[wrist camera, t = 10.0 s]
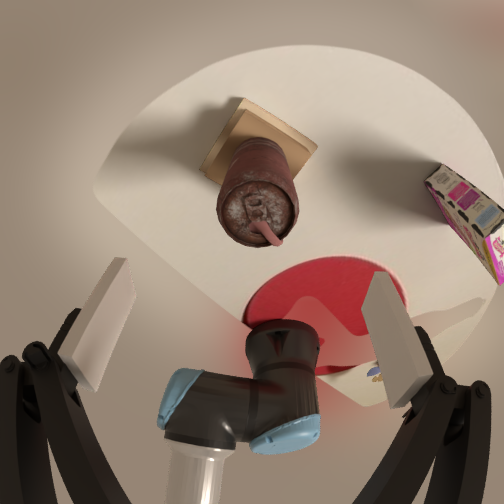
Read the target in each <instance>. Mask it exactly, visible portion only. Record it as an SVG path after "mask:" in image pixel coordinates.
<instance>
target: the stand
mask: <svg viewBox="0 0 504 504" xmlns="http://www.w3.org/2000/svg"><path fill="white" fill-rule="evenodd" d="M255 137H263V138H268V139H270V140H272V141H274V142H276V143H277V144H278V145H279V146H280V147H281V148H282V150H283V152H284V154H285V156H286V159H287V163H288V166H289V169H290V173H291V176H292V179H294V178H295V176H296V175H297V174H298V172H299V171H300V170H301V168H302V167H303V166H304V165H305V163H306V162H307V161H308V159H309V158H310V157H311V155H312V154H313V153H314V151H315V150H316V149H317V147H318V146H317V145H316V144H315V143H314V142H313V141H311V140H310V139H308V138H307V137H305V136H304V135H303V134H301V133H300V132H298V131H297V130H295V129H294V128H292V127H291V126H289V125H288V124H286V123H285V122H283V121H282V120H280V119H279V118H277V117H275V116H274V115H272V114H271V113H269V112H267V111H266V110H264V109H263V108H261V107H259V106H258V105H256V104H254V103H253V102H251V101H249V100H248V99H246V98H244V99H243V100H242V102H241V103H240V105H239V106H238V108H237V110H236V111H235V113H234V114H233V116H232V117H231V119H230V120H229V122H228V123H227V125H226V127H225V128H224V130H223V131H222V133H221V134H220V136H219V138H218V139H217V141H216V143H215V144H214V146H213V147H212V149H211V151H210V152H209V154H208V156H207V157H206V159H205V161H204V162H203V164H202V166H201V168H200V169H199V170H201V171H202V172H204V173H206V174H205V176H206V177H208V178H209V179H211V180H213V181H215V182H216V183H218V184H220V185H222V184H223V181H224V178H225V176H226V173H227V170H228V167H229V165H230V162H231V159H232V156H233V154H234V152H235V150H236V148H237V147H238V146H239V145H240V144H241V143H242V142H244V141H246V140H248V139H250V138H255Z"/></svg>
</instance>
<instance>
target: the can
mask: <svg viewBox="0 0 504 504" xmlns="http://www.w3.org/2000/svg"><path fill="white" fill-rule="evenodd" d="M216 211H217V215H218V219H219V222H220V224H221V225H222V227H223V228H224V230H225V231H226V233H227V235H229V236H230V237H231V238H232V239H233V240H235V241H236V242H238V243H240V244H242V245H245V246H249V247H255V248H260V247H268V246H271V245H273V246H280V245H281V244H282V243H283V239H284V238H285V237H286V236H287V235H288V234H289V232H290V231H291V230H292V228H293V227H294V225H295V224H296V222H297V218H298V214H299V202H298V197H297V193H296V190H295V186H294V183H293V179H292V176H291V173H290V169H289V166H288V163H287V159H286V156H285V154H284V152H283V150H282V148H281V147H280V146H279V145H278V144H277V143H276V142H274V141H272V140H270V139H268V138H263V137H255V138H250V139H248V140H246V141H244V142H242V143H241V144H240V145H239V146H238V147H237V148H236V150H235V152H234V154H233V156H232V159H231V162H230V165H229V167H228V170H227V173H226V176H225V178H224V181H223V184H222V187H221V190H220V193H219V195H218V199H217V207H216Z"/></svg>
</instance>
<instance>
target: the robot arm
mask: <svg viewBox="0 0 504 504" xmlns="http://www.w3.org/2000/svg"><path fill="white" fill-rule="evenodd" d="M136 298H137V295H136V292H135V288H134V284H133V281H132V277H131V273H130V269H129V265H128V260H127V258H118V257H115V258H114V259H113V261H112V262H111V264H110V265H109V267H108V268H107V270H106V271H105V273H104V274H103V276H102V277H101V279H100V280H99V282H98V284H97V285H96V287H95V289H94V290H93V292H92V293H91V295H90V296H89V298H88V300H87V301H86V303H85V305H84V306H83V308H82V309H79V308H75V309H74V310H73V311H72V312H71V313H70V314H69V315H68V316H67V318H66V319H65V321H64V324H63V325H62V326H61V328H60V330H59V332H58V333H57V335H56V337H55V338H54V340H53V342H52V344H51V346H50V348H49V349H47V348H46V346H45V345H44V344H43V343H42V342H39V341H36V342H32V343H30V344H29V345H27V346H26V348H25V349H24V351H23V353H22V358H23V360H24V361H25V362H20V361H19V359H18V358H17V357H16V356H14V355H9V356H7V357H5V358H4V359H3V360H2V361H1V363H0V504H58V503H57V498H56V494H55V489H54V484H53V479H52V473H51V466H50V460H49V452H48V444H47V443H48V442H49V445H50V448H51V450H52V453H53V456H54V459H55V462H56V464H57V467H58V469H59V472H60V474H61V477H62V479H63V482H64V484H65V486H66V488H67V491H68V493H69V495H70V497H71V499H72V501H73V503H74V504H131V502H130V501H129V499H128V497H127V496H126V494H125V492H124V491H123V489H122V487H121V486H120V484H119V482H118V480H117V478H116V477H115V475H114V473H113V471H112V469H111V467H110V465H109V464H108V462H107V460H106V458H105V456H104V454H103V452H102V450H101V447H100V445H99V443H98V441H97V439H96V436H95V434H94V432H93V429H92V427H91V425H90V423H89V420H88V417H87V415H86V413H85V410H84V407H83V405H82V402H81V399H80V396H79V393H78V391H77V389H76V386H77V383H79V384H80V385H81V387H82V388H83V389H85V390H89V391H92V392H97V390H98V387H99V384H100V382H101V379H102V376H103V374H104V371H105V369H106V366H107V364H108V361H109V359H110V356H111V354H112V352H113V349H114V347H115V344H116V342H117V339H118V337H119V335H120V333H121V330H122V328H123V326H124V324H125V321H126V319H127V317H128V315H129V312H130V310H131V308H132V306H133V304H134V302H135V300H136ZM361 310H362V313H363V316H364V319H365V322H366V325H367V328H368V331H369V334H370V338H371V341H372V344H373V347H374V351H375V354H376V357H377V361H378V364H379V368H380V371H381V375H382V378H383V382H384V386H385V390H386V393H387V397H388V401H389V405H390V409H394V408H400V407H404V406H405V405H406V404H407V403H408V402H409V401H411V404H412V407H411V408H410V409H409V410H408V411H407V412H406V413H405V414H404V415H403V416H402V417H403V418H404V417H405V416H406V418H405V420H404V421H403V423H402V425H401V427H400V429H399V431H398V433H397V435H396V437H395V439H394V440H393V442H392V444H391V446H390V448H389V449H388V451H387V453H386V454H385V456H384V457H383V459H382V461H381V462H380V464H379V466H378V467H377V469H376V470H375V472H374V473H373V475H372V477H371V478H370V479H369V481H368V482H367V484H366V485H365V487H364V488H363V489H362V491H361V492H360V494H359V495H358V496H357V498H356V499H355V500H354V502H353V503H352V504H411V503H412V502H413V500H414V498H415V496H416V495H417V493H418V491H419V489H420V487H421V485H422V483H423V482H424V480H425V477H426V476H427V474H428V471H429V469H430V467H431V465H432V463H433V461H434V458H435V456H436V458H435V462H434V467H433V471H432V476H431V480H430V483H429V487H428V491H427V494H426V498H425V501H424V504H481V503H482V498H483V493H484V488H485V482H486V476H487V469H488V460H489V451H490V437H491V392H490V388H489V386H488V385H487V384H486V383H485V382H483V381H479V380H478V381H475V382H474V383H473V384H472V385H471V386H463V385H457V383H456V381H455V380H454V379H453V378H451V377H449V376H446V375H445V373H444V371H443V368H442V366H441V363H440V361H439V359H438V356H437V354H436V352H435V351H434V347H433V345H432V344H431V340H430V338H429V336H428V334H427V333H426V332H425V330H424V329H423V328H422V327H421V326H416V327H414V326H413V324H412V321H411V319H410V317H409V315H408V313H407V311H406V309H405V306H404V304H403V302H402V300H401V298H400V296H399V294H398V292H397V290H396V288H395V286H394V284H393V282H392V280H391V278H390V276H389V275H388V273H387V272H375V273H374V275H373V278H372V281H371V284H370V287H369V289H368V292H367V295H366V297H365V300H364V303H363V305H362V308H361ZM245 351H246V356H247V358H248V360H249V364H250V367H251V370H252V373H253V379H249V378H243V377H236V376H230V375H223V374H218V373H212V372H207V371H205V370H195V369H188V368H181V369H178V370H177V371H175V372H174V374H173V375H172V377H171V378H170V381H169V383H168V385H167V388H166V390H165V392H164V395H163V398H162V401H161V405H160V409H159V414H158V418H157V426H158V427H159V428H161V429H162V430H165V436H164V440H165V442H166V443H167V444H168V446H169V447H170V448H171V451H172V452H171V460H170V466H169V473H168V480H167V488H166V497H165V504H219V499H220V491H221V483H222V475H223V467H224V460H225V459H226V458H227V457H228V456H229V455H231V454H232V453H234V452H235V447H236V442H248V443H249V447H250V449H251V451H253V452H255V453H260V454H281V453H287V452H291V451H296V450H299V449H302V448H304V447H307V446H309V445H311V444H313V443H314V442H315V441H316V440H317V439H318V437H319V435H320V417H321V416H320V414H319V405H318V396H317V388H316V380H315V367H316V363H317V359H318V354H319V351H320V342H319V337H318V334H317V332H316V331H315V329H314V328H313V327H311V326H310V325H308V324H306V323H304V322H301V321H296V320H289V319H288V320H287V319H282V320H274V321H269V322H266V323H263V324H261V325H259V326H257V327H256V328H254V329H253V330H252V331H251V332H250V333H249V335H248V336H247V339H246V349H245ZM47 438H48V442H47Z"/></svg>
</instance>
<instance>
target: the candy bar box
mask: <svg viewBox="0 0 504 504" xmlns="http://www.w3.org/2000/svg"><path fill="white" fill-rule="evenodd" d="M424 183H425V184H426V186H427V188H428V189H429V191H430V192H431V194H432V196H433V197H434V199H435V200H436V202H437V204H438V206H439V207H440V209H441V211H442V213H443V214H444V216H445V218H446V220H447V221H448V223H449V225H450V227H451V228H452V229H453V230H454V231H455V232H456V233H457V234H458V235H459V237H460V238H461V239H462V240H463V241H464V242H465V243H466V244H467V246H468V247H469V248H470V249H471V250H472V251H473V253H474V254H475V255H476V256H477V258H478V259H479V260H480V261H481V263H482V264H483V265H484V266H485V268H486V269H487V270H488V272H489V273H490V274H491V275H492V277H493V278H494V279H495V281H496V282H497V284H498V285H499V286H500V285H501V284H502V283H503V282H504V209H503V208H502V207H500V206H499V205H498V204H497V203H496V202H494V201H493V200H492V199H491V198H489V197H488V196H487V195H486V194H484V193H483V192H482V191H481V190H479V189H478V188H477V187H475V186H474V185H473V184H471V183H470V182H469V181H467V180H466V179H464V178H463V177H462V176H460V175H459V174H457V173H456V172H455V171H453V170H452V169H450V168H449V167H447V166H446V165H444V164H442V165H441V166H440V167H439V168H438V169H437V170H436V171H435V172H434V173H432V174H431V175H430V176H429V177H428V178H427V179H426V180H425V181H424Z"/></svg>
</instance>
